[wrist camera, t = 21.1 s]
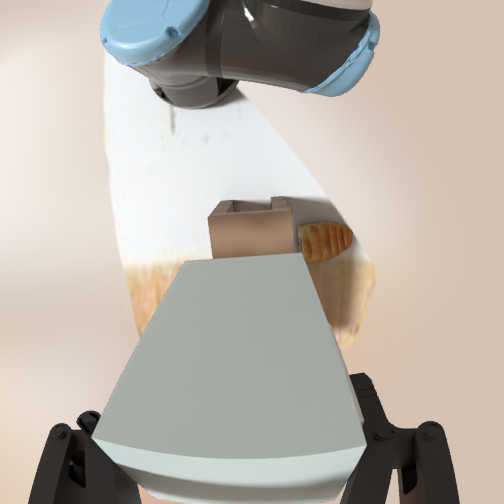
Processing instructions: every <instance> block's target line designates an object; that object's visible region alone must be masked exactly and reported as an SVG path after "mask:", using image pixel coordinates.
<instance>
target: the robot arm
mask: <svg viewBox="0 0 504 504" xmlns="http://www.w3.org/2000/svg"><path fill="white" fill-rule="evenodd" d="M372 2H373V1H372V0H112V1H111V2H110V4H109V5H108V7H107V8H106V10H105V12H104V15H103V18H102V21H101V26H100V37H101V41H102V44H103V46H104V48H105V49H106V50H107V51H108V52H109V53H110V54H111V55H112V56H113V57H114V58H115V59H116V60H117V61H118V62H119V63H121V64H123V65H126V66H129V67H131V68H133V69H134V70H136V71H138V72H139V73H141V74H143V75H145V76H146V77H148V78H149V82H150V85H151V87H152V89H153V90H154V92H155V93H156V94H157V95H158V96H159V97H160V98H161V99H162V100H164V101H165V102H167V103H169V104H171V105H173V106H175V107H178V108H182V109H200V108H205V107H208V106H211V105H214V104H216V103H218V102H219V101H221V100H223V99H224V98H225V97H227V96H228V95H229V94H230V93H231V92H232V91H233V90H234V88H235V87H236V86H237V84H238V82H239V80H242V81H250V82H256V83H262V84H268V85H273V86H279V87H283V88H288V89H293V90H296V91H298V92H301V93H315V94H319V95H324V96H329V97H333V96H340V95H342V94H344V93H346V92H348V91H349V90H350V89H351V88H353V87H354V86H355V85H356V84H357V83H358V82H359V80H360V79H361V78H362V76H363V75H364V73H365V72H366V70H367V69H368V67H369V65H370V63H371V61H372V59H373V57H374V52H373V49H374V48H375V46H376V45H377V44H378V41H379V36H380V24H379V21H378V19H377V17H376V15H375V14H374V13H372V12H371V10H370V8H371V6H372ZM328 324H329V327H330V330H331V333H332V336H333V339H334V342H335V344H336V347H337V350H338V353H339V356H340V359H341V362H342V365H343V368H344V371H345V374H346V377H347V380H348V384H349V387H350V390H351V393H352V396H353V399H354V403H355V406H356V409H357V413H358V416H359V419H360V423H361V426H362V429H363V433H364V436H365V440H366V444H367V446H366V448H365V450H364V452H363V454H362V456H361V457H360V459H359V461H358V463H357V465H356V467H355V468H354V470H353V472H352V474H351V475H350V477H349V479H348V481H347V484H346V487H345V490H344V493H343V496H342V499H341V502H340V504H385V502H386V498H387V493H388V489H389V484H390V480H391V475H392V470H393V469H397V472H398V484H399V496H400V504H460V502H459V496H458V490H457V484H456V479H455V473H454V469H453V464H452V460H451V455H450V451H449V447H448V443H447V439H446V436H445V432H444V429H443V427H442V426H441V425H440V424H439V423H437V422H434V421H427V422H424V423H422V424H421V425H420V426H419V427H418V428H412V429H404V428H398V427H395V426H394V425H393V424H391V423H390V422H389V421H388V420H387V418H386V415H385V413H384V410H383V407H382V405H381V402H380V400H379V397H378V396H377V392H376V390H375V389H374V385H373V383H372V380H371V379H370V378H369V377H368V376H367V375H366V374H365V373H358V374H352V375H349V374H348V371H347V368H346V365H345V363H344V360H343V357H342V354H341V351H340V349H339V346H338V343H337V340H336V338H335V335H334V332H333V330H332V327H331V324H330V323H328ZM100 417H101V415H100V414H99V413H98V412H96V411H86V412H84V413H82V414H81V415H80V416H79V417H78V419H77V422H76V423H77V424H78V425H79V427H80V428H81V429H82V430H72V429H71V428H70V427H69V426H68V425H67V424H64V423H59V424H57V425H55V426H54V427H52V429H51V431H50V433H49V436H48V438H47V441H46V444H45V447H44V450H43V453H42V456H41V459H40V462H39V465H38V468H37V472H36V475H35V479H34V483H33V486H32V490H31V493H30V497H29V502H28V504H142V503H141V499H140V494H139V489H138V485H137V482H136V481H134V480H133V479H132V478H131V477H130V476H129V475H128V474H127V473H126V472H124V471H123V470H122V469H121V468H120V467H119V466H118V465H117V464H116V463H115V462H114V461H113V460H112V459H111V458H110V457H109V456H108V455H107V454H106V453H105V452H104V451H103V450H102V449H101V448H100V446H99V445H98V444H97V443H96V442H95V441H94V440H93V439H92V438H91V437H92V435H93V432H94V430H95V428H96V426H97V424H98V421H99V419H100Z"/></svg>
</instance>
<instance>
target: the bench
mask: <svg viewBox="0 0 504 504" xmlns="http://www.w3.org/2000/svg"><path fill="white" fill-rule="evenodd" d="M208 225H209V233H210V240H211V248H212V255H213V259H221V258H235V257H249V256H262V255H276V254H290V253H294V246H293V221H292V210H291V209H290V207H289V205H288V204H287V202H286V200H285V198H284V197H283V196H280V197H271V209H270V210H256V211H243V212H234V204H233V200H228V201H220V203H219V204H218V205H217V207H216V208H215V209H214V210H213V212H212V213H211V214H210V215H209V217H208Z"/></svg>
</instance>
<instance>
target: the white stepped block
mask: <svg viewBox="0 0 504 504" xmlns="http://www.w3.org/2000/svg"><path fill="white" fill-rule="evenodd" d="M91 438H92V439H93V440H94V441H95V442H96V443H97V444H98V445H99V446H100V448H101V449H102V450H103V451H104V452H105V453H106V454H107V455H108V456H109V457H110V458H111V459H112V460H113V461H114V462H115V463H116V464H117V465H118V466H119V467H120V468H121V469H122V470H123V471H124V472H126V473H127V474H128V475H129V476H130V477H131V478H132V479H133V480H134V481H136V482H137V483H138V484H139V485H140V486H141V487H143V488H144V489H145V490H146V491H147V492H149V493H150V494H151V495H152V496H154V497H155V498H158V499H163V500H168V501H174V502H180V503H187V504H316V503H323V502H329V501H335V499H336V498H337V496H338V495H339V493H340V492H341V490H342V488H343V487H344V485H345V484H346V482H347V480H348V479H349V477H350V475H351V474H352V472H353V470H354V468H355V467H356V465H357V463H358V461H359V459H360V457H361V456H362V454H363V452H364V450H365V448H366V446H367V444H366V440H365V436H364V433H363V429H362V426H361V423H360V419H359V416H358V413H357V409H356V406H355V403H354V399H353V396H352V393H351V390H350V387H349V384H348V380H347V377H346V374H345V371H344V368H343V365H342V362H341V359H340V356H339V353H338V350H337V347H336V344H335V342H334V339H333V336H332V333H331V330H330V327H329V324H328V322H327V319H326V316H325V313H324V310H323V308H322V305H321V302H320V300H319V297H318V294H317V291H316V289H315V286H314V283H313V281H312V278H311V276H310V273H309V270H308V268H307V265H306V263H305V260H304V257H303V255H302V253H290V254H276V255H262V256H249V257H235V258H221V259H207V260H193V261H185V262H184V263H183V265H182V267H181V268H180V270H179V272H178V273H177V275H176V277H175V279H174V280H173V282H172V284H171V285H170V287H169V289H168V290H167V292H166V294H165V296H164V297H163V299H162V301H161V303H160V304H159V306H158V308H157V310H156V311H155V313H154V315H153V317H152V318H151V320H150V322H149V324H148V326H147V327H146V329H145V331H144V333H143V335H142V337H141V338H140V340H139V342H138V344H137V346H136V348H135V350H134V351H133V353H132V355H131V357H130V359H129V361H128V363H127V365H126V367H125V369H124V371H123V373H122V374H121V377H120V378H119V381H118V382H117V384H116V386H115V388H114V391H113V393H112V394H111V397H110V398H109V401H108V403H107V405H106V407H105V409H104V411H103V413H102V415H101V417H100V419H99V421H98V424H97V426H96V428H95V430H94V432H93V435H92V437H91Z"/></svg>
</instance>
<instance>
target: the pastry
mask: <svg viewBox="0 0 504 504" xmlns="http://www.w3.org/2000/svg"><path fill="white" fill-rule="evenodd" d="M352 235H353V232H352V230H351V229H350V228H348V227H347V226H346V225H341V224H337V223H329V222H320V223H316V224H314V223H313V224H307V225H300V226H299V227H298V240H299V244H300V248H299V252H300V253H302V255H303V257H304V260H305V262H321V261H323V260H328V259H330V258H333V257H335V256H336V255H339V254H340V253H341V252H342V251H344V250H346V249H348V248H349V247H350V245H351V243H352Z"/></svg>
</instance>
